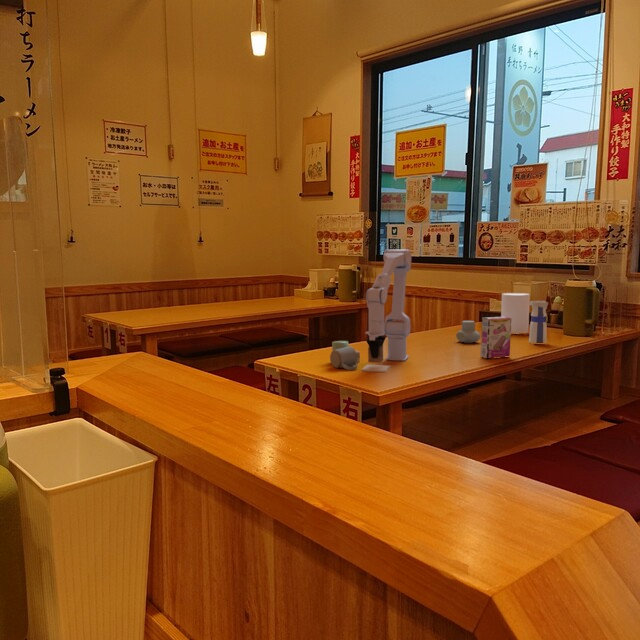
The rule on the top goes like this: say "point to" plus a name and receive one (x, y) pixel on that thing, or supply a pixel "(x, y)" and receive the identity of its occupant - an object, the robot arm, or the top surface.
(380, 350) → the walnut block
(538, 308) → the water bottle
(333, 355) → the ceramic mug
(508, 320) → the candy bar box
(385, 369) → the trivet
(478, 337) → the air freshener
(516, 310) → the canister
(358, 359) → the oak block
